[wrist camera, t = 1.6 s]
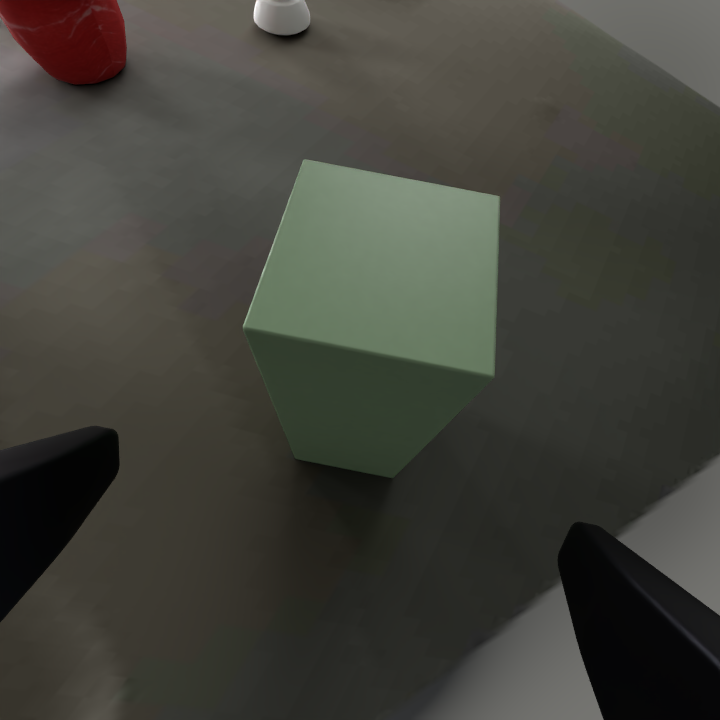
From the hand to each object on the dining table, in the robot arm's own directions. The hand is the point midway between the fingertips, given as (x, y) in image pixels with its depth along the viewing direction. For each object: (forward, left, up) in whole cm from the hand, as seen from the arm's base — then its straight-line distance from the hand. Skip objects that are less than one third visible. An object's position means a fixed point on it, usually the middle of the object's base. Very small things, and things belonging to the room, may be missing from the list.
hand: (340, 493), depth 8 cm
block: (+4, -3, -12) cm, 13 cm away
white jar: (+41, -12, -12) cm, 44 cm away
